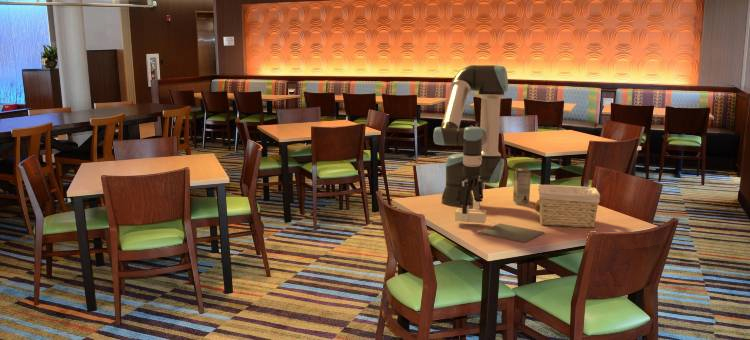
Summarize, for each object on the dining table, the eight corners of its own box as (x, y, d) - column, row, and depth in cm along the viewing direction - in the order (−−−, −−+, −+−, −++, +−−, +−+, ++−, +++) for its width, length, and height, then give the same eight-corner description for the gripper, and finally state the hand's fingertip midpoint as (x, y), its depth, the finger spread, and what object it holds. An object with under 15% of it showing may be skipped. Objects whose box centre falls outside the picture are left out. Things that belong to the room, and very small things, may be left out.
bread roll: (540, 220, 293) (545, 206, 289) (528, 206, 301) (533, 193, 296) (558, 218, 297) (564, 205, 292) (546, 205, 304) (551, 191, 300)
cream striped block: (455, 220, 271) (455, 211, 270) (457, 217, 276) (457, 207, 276) (484, 223, 267) (484, 213, 267) (486, 219, 273) (486, 209, 272)
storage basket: (593, 219, 282) (595, 186, 279) (598, 229, 266) (601, 194, 263) (536, 216, 286) (538, 183, 284) (538, 226, 271) (540, 191, 268)
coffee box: (512, 200, 317) (513, 167, 314) (525, 200, 317) (527, 167, 314) (516, 204, 308) (517, 171, 305) (529, 204, 308) (531, 171, 305)
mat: (478, 233, 260) (478, 231, 260) (499, 224, 273) (499, 223, 272) (524, 242, 247) (524, 241, 247) (544, 233, 260) (544, 231, 260)
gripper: (466, 170, 257) (465, 225, 262) (492, 162, 273) (491, 215, 277) (450, 167, 262) (449, 222, 266) (477, 160, 277) (475, 212, 282)
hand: (470, 218), depth 272 cm, fingers closed on cream striped block, 8 cm apart
